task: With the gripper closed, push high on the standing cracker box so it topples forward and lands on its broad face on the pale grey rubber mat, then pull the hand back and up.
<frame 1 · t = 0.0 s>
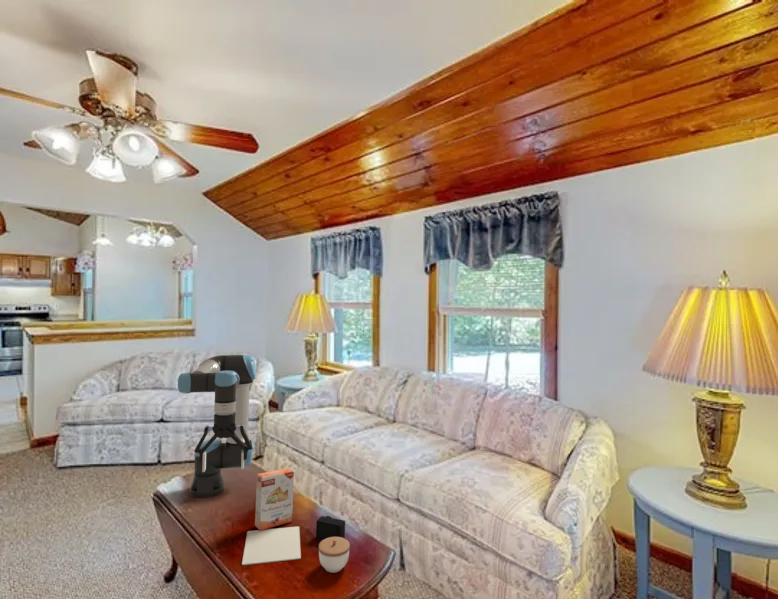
hand: (223, 469, 162), 28 cm above the table, fingers open, 13 cm apart
cracker box: (274, 524, 177), on the table, touching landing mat
lidded jar: (333, 567, 150), on the table
digital camera: (331, 538, 168), on the table
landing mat: (272, 544, 163), on the table
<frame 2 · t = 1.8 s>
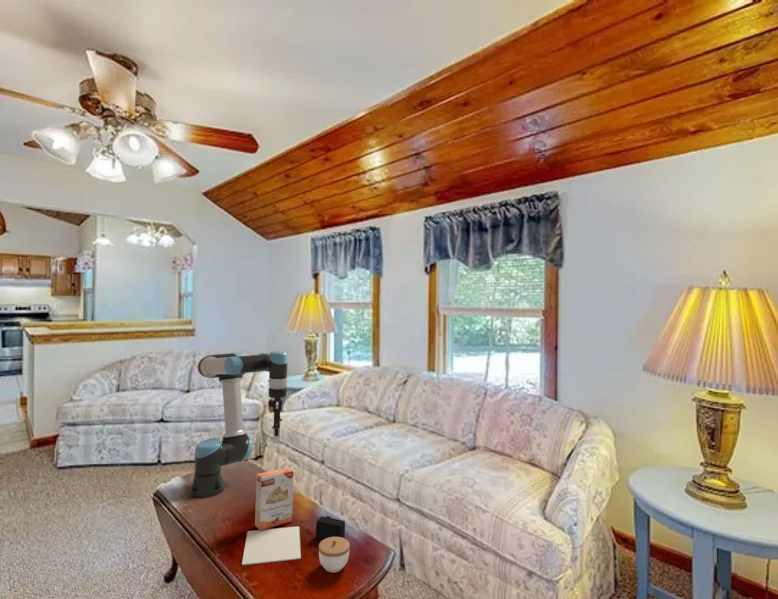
hand: (276, 439, 188), 31 cm above the table, fingers open, 8 cm apart
nothing on the table moved.
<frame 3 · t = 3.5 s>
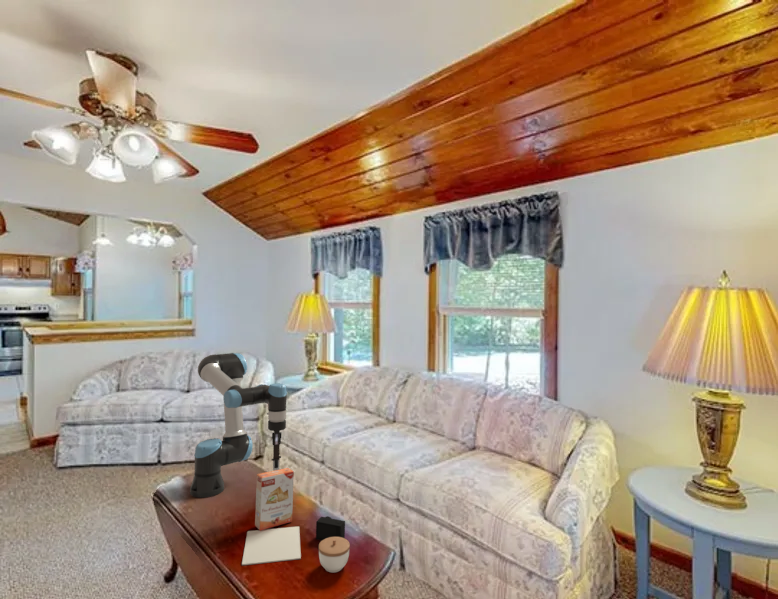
hand: (276, 474, 188), 16 cm above the table, fingers closed
nothing on the table moved.
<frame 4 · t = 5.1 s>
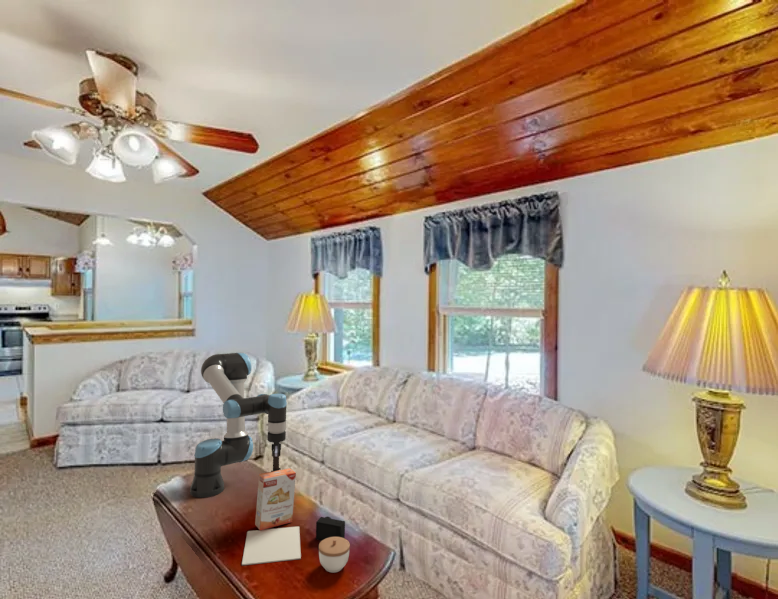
hand: (275, 486, 184), 13 cm above the table, fingers closed
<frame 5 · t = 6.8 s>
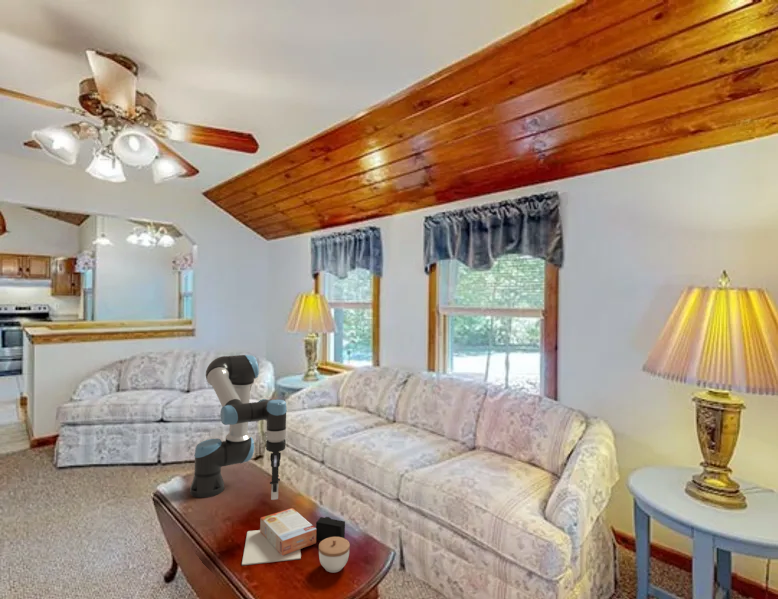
hand: (274, 498, 173), 13 cm above the table, fingers closed
cracker box: (276, 519, 175), point 3 cm above the table, touching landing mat
everything else where it was.
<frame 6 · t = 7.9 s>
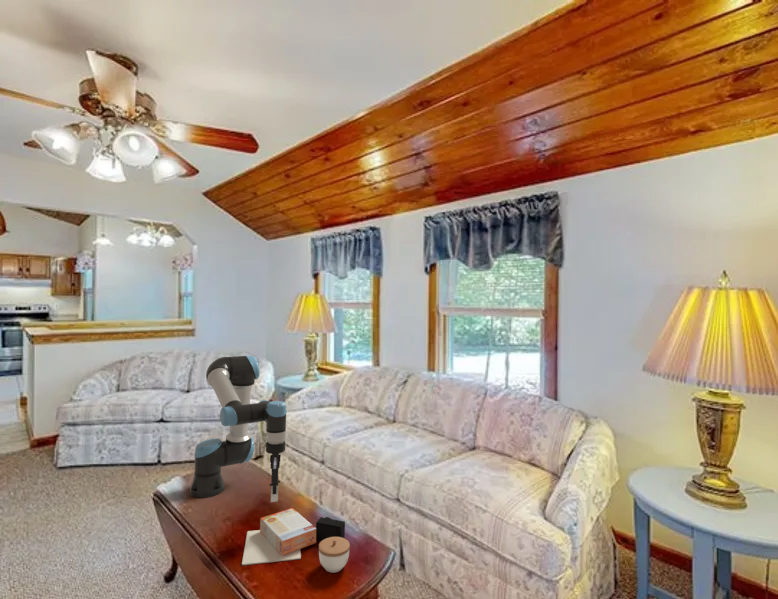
hand: (274, 500, 171), 12 cm above the table, fingers closed
nothing on the table moved.
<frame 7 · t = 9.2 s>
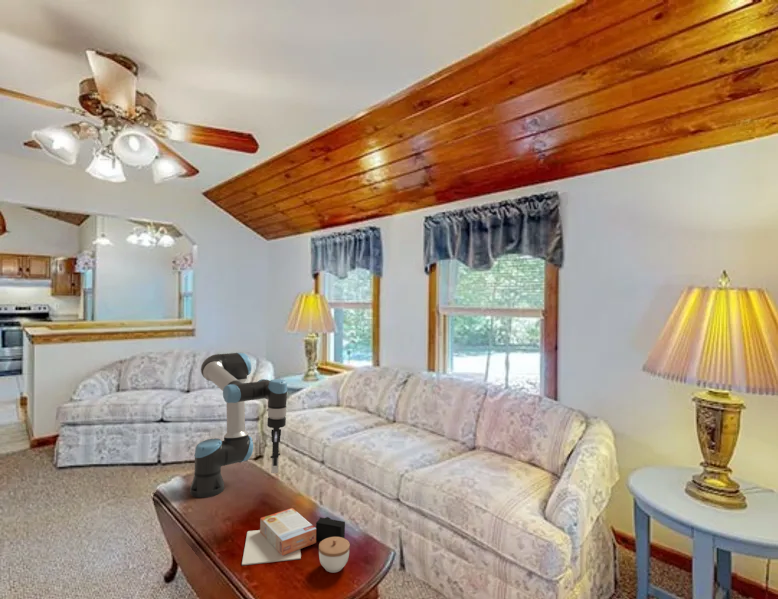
hand: (274, 472, 183), 19 cm above the table, fingers closed
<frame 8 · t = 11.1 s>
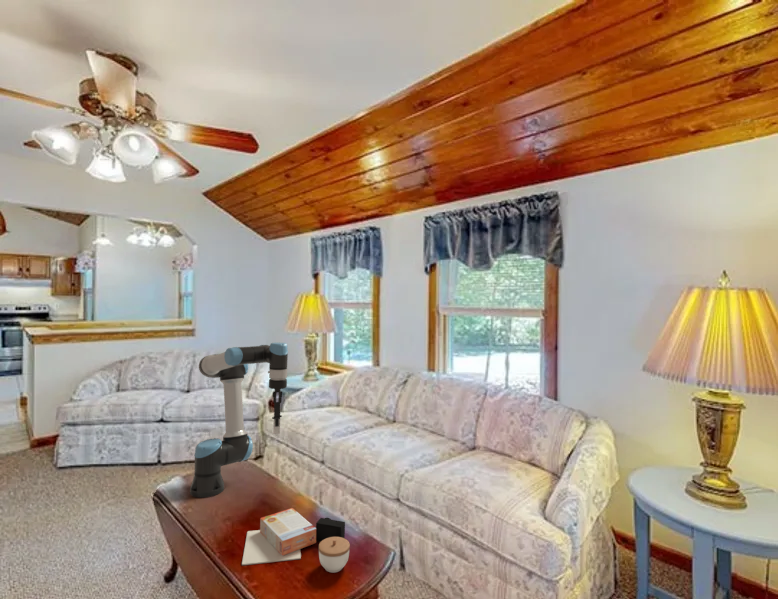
hand: (276, 433, 187), 34 cm above the table, fingers closed
at the end: cracker box tilted 89°; cracker box touching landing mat; cracker box inside the target area (1.9 cm from its centre), point 3.2 cm above the table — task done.
